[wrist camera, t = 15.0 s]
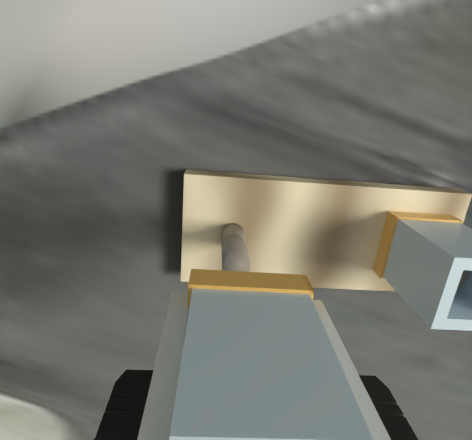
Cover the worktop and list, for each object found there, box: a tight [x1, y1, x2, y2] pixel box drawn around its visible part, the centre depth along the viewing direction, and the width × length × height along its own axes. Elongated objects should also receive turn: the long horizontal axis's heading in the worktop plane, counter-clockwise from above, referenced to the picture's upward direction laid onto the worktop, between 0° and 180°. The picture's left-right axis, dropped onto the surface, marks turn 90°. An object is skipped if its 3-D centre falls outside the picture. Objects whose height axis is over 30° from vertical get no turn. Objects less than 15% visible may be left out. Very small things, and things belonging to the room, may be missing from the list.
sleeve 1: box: [169, 269, 374, 440], centre depth 11 cm, size 5×5×7 cm
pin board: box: [181, 169, 472, 291], centre depth 23 cm, size 20×8×6 cm, turn 85°
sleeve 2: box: [373, 211, 472, 331], centre depth 22 cm, size 5×5×7 cm
